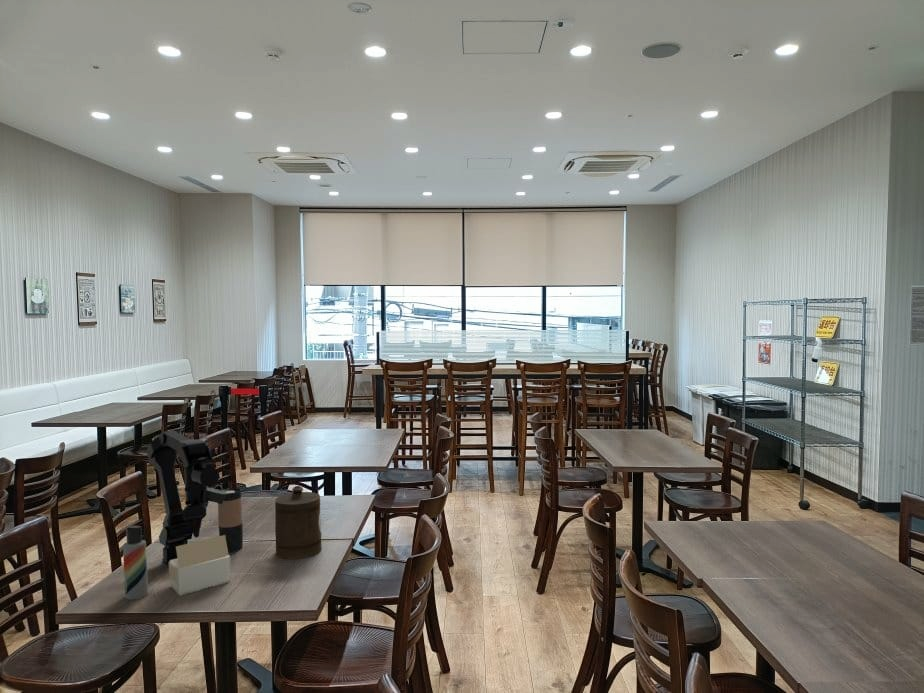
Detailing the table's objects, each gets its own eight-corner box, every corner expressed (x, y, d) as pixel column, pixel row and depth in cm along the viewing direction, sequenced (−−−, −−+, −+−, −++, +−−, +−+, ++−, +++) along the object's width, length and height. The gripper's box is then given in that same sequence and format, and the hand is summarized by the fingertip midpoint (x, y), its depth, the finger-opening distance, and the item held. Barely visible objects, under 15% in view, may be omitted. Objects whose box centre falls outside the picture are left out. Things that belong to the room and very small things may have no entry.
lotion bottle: (121, 597, 170) (118, 527, 170) (141, 589, 175) (138, 521, 174) (131, 602, 167) (128, 530, 167) (151, 594, 172) (149, 524, 171)
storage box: (168, 585, 177) (167, 560, 177) (220, 571, 187) (219, 547, 187) (177, 596, 170) (176, 570, 170) (231, 581, 180) (230, 556, 179)
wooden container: (331, 548, 205) (329, 483, 204) (296, 563, 193) (294, 494, 192) (300, 540, 213) (299, 478, 212) (266, 554, 201) (264, 488, 200)
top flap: (175, 546, 172) (176, 546, 172) (224, 535, 181) (225, 534, 180) (179, 568, 170) (179, 567, 170) (228, 555, 179) (228, 555, 179)
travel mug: (235, 553, 202) (233, 494, 201) (214, 552, 203) (212, 493, 203) (247, 545, 209) (245, 488, 209) (227, 544, 211) (225, 487, 210)
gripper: (222, 485, 179) (225, 537, 179) (224, 472, 197) (226, 520, 197) (181, 490, 175) (184, 543, 176) (186, 477, 193) (189, 525, 193)
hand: (197, 532), depth 185 cm, fingers open, 9 cm apart
